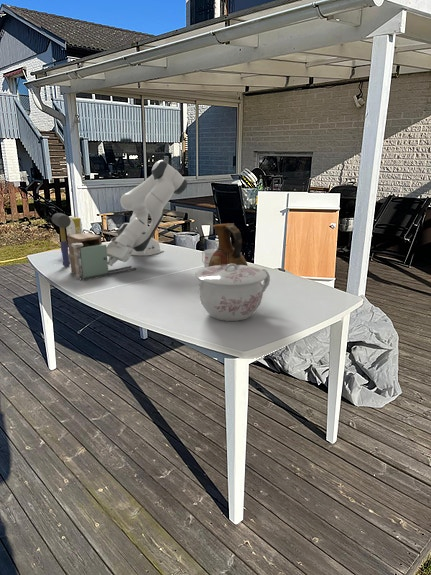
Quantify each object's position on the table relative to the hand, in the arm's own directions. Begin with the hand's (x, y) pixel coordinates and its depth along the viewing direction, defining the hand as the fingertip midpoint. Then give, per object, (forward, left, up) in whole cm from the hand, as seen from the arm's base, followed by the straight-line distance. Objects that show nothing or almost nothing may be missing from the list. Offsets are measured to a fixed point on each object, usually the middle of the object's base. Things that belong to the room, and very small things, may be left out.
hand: (109, 264), depth 212 cm
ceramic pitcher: (-31, +58, -5) cm, 66 cm away
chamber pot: (-5, +86, -5) cm, 86 cm away
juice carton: (-8, -58, -5) cm, 59 cm away
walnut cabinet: (+10, -8, -5) cm, 13 cm away
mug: (-43, +32, -5) cm, 54 cm away
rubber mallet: (+11, -30, -5) cm, 32 cm away
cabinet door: (+8, 0, -5) cm, 10 cm away
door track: (+1, 0, -5) cm, 5 cm away
